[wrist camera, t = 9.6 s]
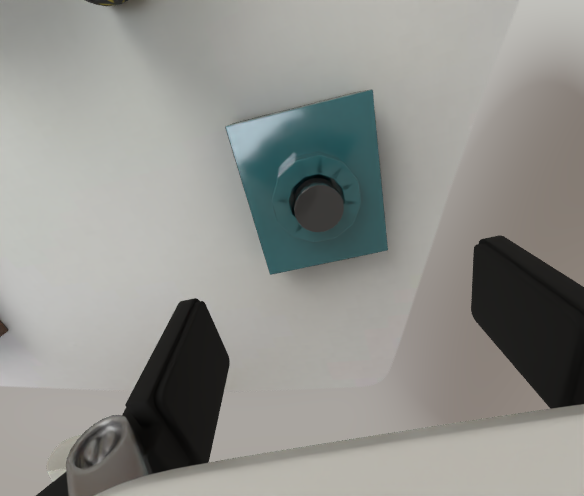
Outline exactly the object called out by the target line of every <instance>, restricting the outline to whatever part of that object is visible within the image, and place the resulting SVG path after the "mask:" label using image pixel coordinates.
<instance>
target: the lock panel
mask: <svg viewBox="0 0 584 496" xmlns="http://www.w3.org/2000/svg"><path fill="white" fill-rule="evenodd" d="M7 331H8V329H7V328H6V327H5V326H4V325H3V323H2V322H1V321H0V337H1V336H2V335H4V334H5V333H6V332H7Z"/></svg>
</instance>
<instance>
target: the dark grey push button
mask: <svg viewBox="0 0 584 496" xmlns="http://www.w3.org/2000/svg"><path fill="white" fill-rule="evenodd" d="M343 211H344V203H343V200H342V198H341V196H340V194H339V192H338V191H337V189H336V187H335V186H334V185H333V184H332V183H331V182H330V181H328V180H326V179H323V178H311V179H308V180H306V181H305V182H303V183H302V184H301V185H300V186H299V187H298V188H297V190H296V192H295V195H294V212H295V217H296V219H297V221H298V223H299V224H300V225H301V226H302V227H303V228H305V229H307V230H309V231H312V232H324V231H327V230H330V229H331V228H333V227H334V226H336V225H337V224H338V222H339V221H340V220H341V218H342V215H343Z"/></svg>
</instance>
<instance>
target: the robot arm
mask: <svg viewBox="0 0 584 496" xmlns="http://www.w3.org/2000/svg"><path fill="white" fill-rule="evenodd" d="M471 311H472V315H473V317H474V319H475V321H476V322H477V323H478V324H479V325H480V327H481V328H482V329H483V330H484V331H485V332H486V334H487V335H488V336H489V337H490V338H491V340H492V341H493V342H494V343H495V344H496V345H497V347H498V348H499V349H500V350H501V351H502V352H503V354H504V355H505V356H506V357H507V358H508V359H509V360H510V362H511V363H512V364H513V365H514V366H515V368H516V369H517V370H518V371H519V372H520V373H521V375H522V376H523V377H524V378H525V379H526V381H527V382H528V383H529V384H530V385H531V386H532V387H533V389H534V390H535V391H536V392H537V393H538V395H539V396H540V397H541V398H542V399H543V400H544V402H545V403H546V404H547V405H548V406H549V407H550V408H551V409H546V410H539V411H531V412H525V413H518V414H512V415H505V416H498V417H492V418H485V419H479V420H472V421H465V422H459V423H452V424H445V425H440V426H432V427H426V428H420V429H413V430H407V431H400V432H394V433H388V434H381V435H375V436H368V437H363V438H356V439H349V440H344V441H337V442H331V443H324V444H318V445H312V446H306V447H299V448H293V449H287V450H281V451H275V452H269V453H262V454H257V455H250V456H244V457H238V458H232V459H227V460H221V461H215V462H210V463H208V462H209V457H210V453H211V449H212V443H213V439H214V435H215V430H216V425H217V421H218V416H219V411H220V407H221V402H222V397H223V393H224V388H225V383H226V379H227V374H228V369H229V356H228V354H227V351H226V349H225V347H224V345H223V342H222V340H221V338H220V336H219V333H218V331H217V329H216V327H215V325H214V322H213V320H212V318H211V316H210V313H209V311H208V309H207V307H206V304H205V303H204V302H203V301H201V302H200V301H199V300H198V299H196V298H195V299H190V300H185V301H181V302H180V303H179V304H178V306H177V308H176V310H175V311H174V313H173V315H172V317H171V319H170V321H169V323H168V325H167V327H166V329H165V330H164V332H163V334H162V336H161V338H160V340H159V342H158V344H157V346H156V348H155V349H154V351H153V353H152V355H151V357H150V359H149V361H148V363H147V365H146V367H145V368H144V370H143V372H142V374H141V376H140V378H139V380H138V382H137V384H136V385H135V387H134V389H133V391H132V393H131V395H130V397H129V399H128V401H127V403H126V409H125V411H124V413H123V415H112V416H109V417H107V418H104V419H102V420H100V421H99V422H97V423H95V424H94V425H93V426H91V427H90V428H89V429H88V430H86V431H85V432H84V433H83V434H82V435H81V436H80V438H79V439H78V440H77V441H76V443H75V444H74V445H73V447H72V448H71V450H70V452H69V455H68V457H67V461H66V470H65V472H64V474H62V475H61V476H60V477H59V478H57V479H56V480H55V481H54V482H52V483H51V484H50V485H49V486H47V487H46V488H45V489H44V490H43V491H41V492H40V493H39V494H38V495H36V496H584V287H583V286H581V285H580V284H578V283H576V282H575V281H573V280H572V279H570V278H569V277H567V276H565V275H564V274H562V273H561V272H559V271H557V270H556V269H554V268H553V267H551V266H550V265H548V264H546V263H545V262H543V261H542V260H540V259H538V258H537V257H535V256H534V255H532V254H531V253H529V252H527V251H526V250H524V249H523V248H521V247H519V246H518V245H516V244H515V243H513V242H512V241H510V240H508V239H507V238H505V237H504V236H495V237H491V238H485V239H481V240H480V241H479V244H478V245H476V246H475V247H474V258H473V282H472V303H471Z"/></svg>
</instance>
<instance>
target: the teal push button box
mask: <svg viewBox="0 0 584 496" xmlns="http://www.w3.org/2000/svg"><path fill="white" fill-rule="evenodd" d="M225 128H226V131H227V134H228V138H229V141H230V144H231V148H232V151H233V154H234V157H235V161H236V164H237V167H238V171H239V174H240V177H241V180H242V184H243V187H244V190H245V194H246V197H247V200H248V203H249V207H250V210H251V213H252V217H253V220H254V223H255V226H256V230H257V233H258V236H259V240H260V243H261V246H262V249H263V253H264V256H265V259H266V263H267V266H268V269H269V272H270V275H271V274H276V273H281V272H286V271H291V270H296V269H300V268H305V267H310V266H315V265H320V264H325V263H329V262H334V261H339V260H344V259H349V258H353V257H358V256H363V255H368V254H373V253H378V252H382V251H387V250H388V246H387V235H386V225H385V214H384V204H383V193H382V183H381V173H380V162H379V152H378V141H377V131H376V120H375V110H374V99H373V90H365V91H359V92H355V93H351V94H347V95H343V96H339V97H335V98H331V99H327V100H323V101H319V102H315V103H311V104H307V105H303V106H299V107H296V108H292V109H288V110H284V111H280V112H276V113H272V114H268V115H264V116H260V117H256V118H252V119H248V120H244V121H240V122H236V123H232V124H230V125H228V126H226V127H225ZM311 178H323V179H326V180H328V181H330V182H331V183H332V184H333V185H334V186H335V187H336V189H337V191H338V192H339V194H340V196H341V198H342V200H343V203H344V211H343V215H342V218H341V220H340V221H339V222H338V224H337V225H336V226H334V227H333V228H331V229H330V230H327V231H324V232H312V231H309V230H307V229H305V228H303V227H302V226H301V225H300V224H299V223H298V221H297V219H296V217H295V212H294V195H295V192H296V190H297V188H298V187H299V186H300V185H301V184H302V183H303V182H305V181H306V180H308V179H311Z"/></svg>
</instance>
